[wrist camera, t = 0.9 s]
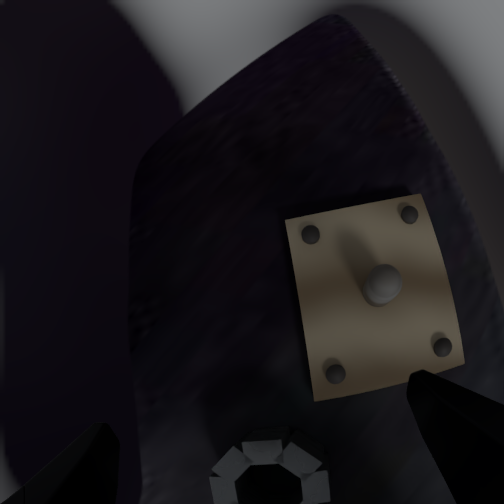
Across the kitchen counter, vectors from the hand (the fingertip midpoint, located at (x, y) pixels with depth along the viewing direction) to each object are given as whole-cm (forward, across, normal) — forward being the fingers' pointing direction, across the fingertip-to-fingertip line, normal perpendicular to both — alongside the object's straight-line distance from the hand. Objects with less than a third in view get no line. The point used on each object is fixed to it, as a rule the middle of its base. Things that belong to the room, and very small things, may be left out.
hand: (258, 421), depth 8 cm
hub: (+6, 0, +12) cm, 14 cm away
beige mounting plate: (+11, -8, +3) cm, 14 cm away
